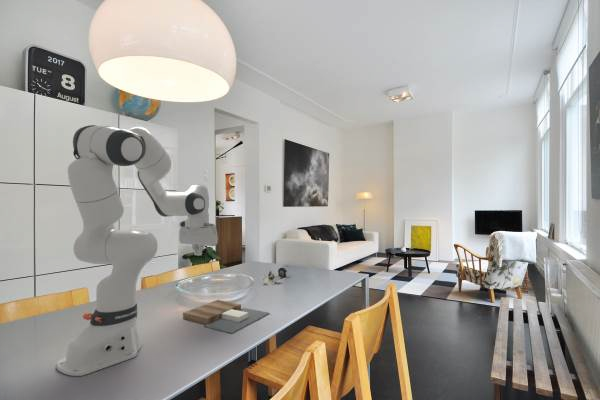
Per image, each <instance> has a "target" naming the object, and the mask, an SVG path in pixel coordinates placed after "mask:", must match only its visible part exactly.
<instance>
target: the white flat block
mask: <svg viewBox="0 0 600 400" xmlns="http://www.w3.org/2000/svg"><path fill="white" fill-rule="evenodd" d="M246 318H248V312H243V311H238V310H233V309H231V310H228V311H226V312H224V313H222V319H227V320H231V321H236V322H240V321H242V320H244V319H246Z"/></svg>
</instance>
